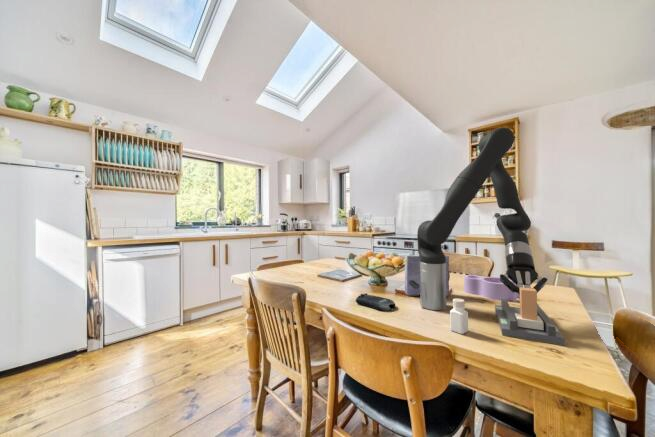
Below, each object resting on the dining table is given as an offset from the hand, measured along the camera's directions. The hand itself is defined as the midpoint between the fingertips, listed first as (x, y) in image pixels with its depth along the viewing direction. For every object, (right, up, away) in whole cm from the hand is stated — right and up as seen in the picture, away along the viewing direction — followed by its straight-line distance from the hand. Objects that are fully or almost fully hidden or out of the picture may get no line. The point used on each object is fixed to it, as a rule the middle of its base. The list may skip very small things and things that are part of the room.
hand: (526, 304), depth 79 cm
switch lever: (-1, -6, -2) cm, 6 cm away
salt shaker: (-20, -9, +1) cm, 22 cm away
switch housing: (+2, -8, +4) cm, 9 cm away
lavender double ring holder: (+11, -8, +35) cm, 37 cm away
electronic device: (-41, -9, +25) cm, 49 cm away
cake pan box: (-16, -8, +37) cm, 41 cm away
